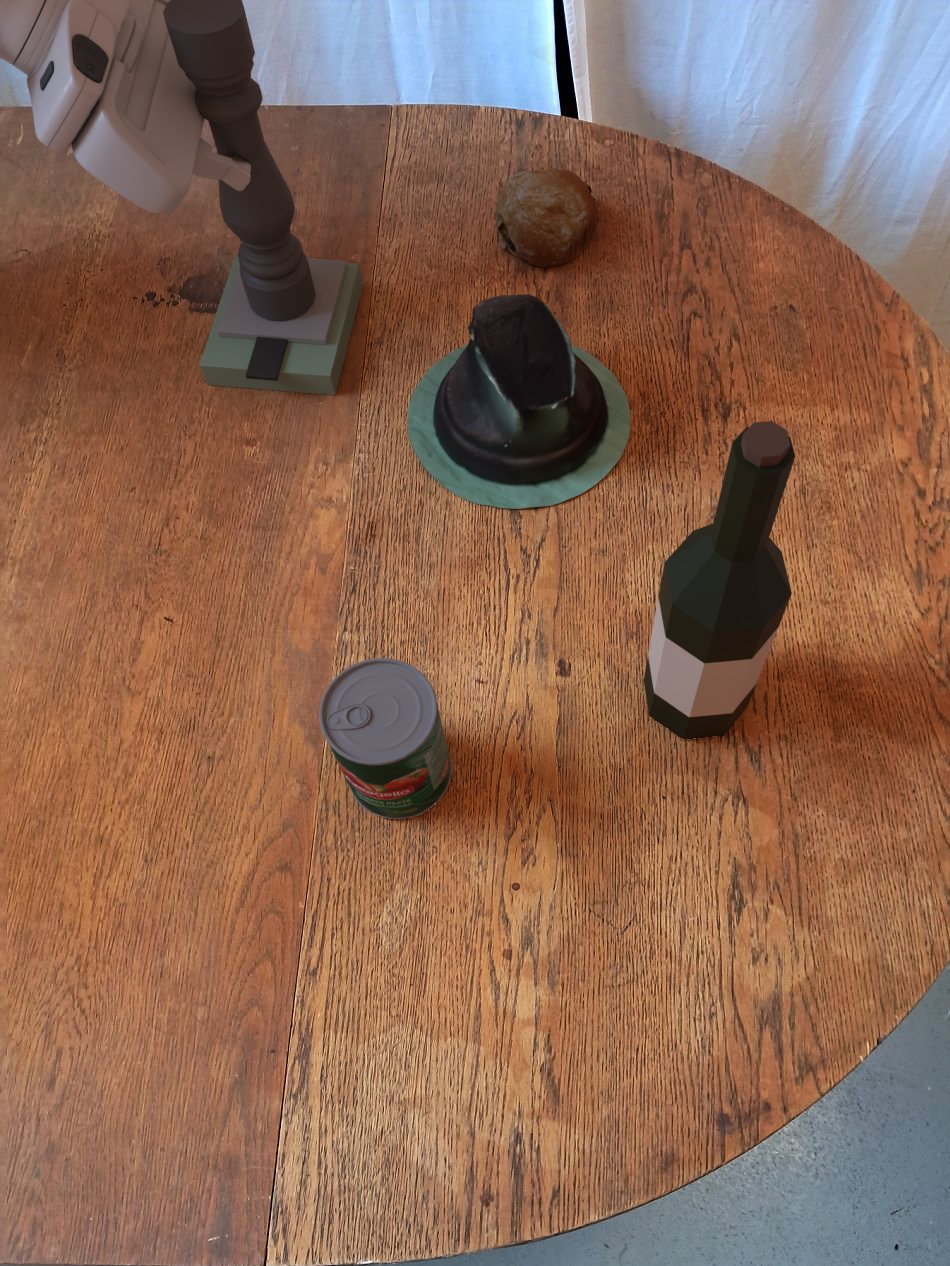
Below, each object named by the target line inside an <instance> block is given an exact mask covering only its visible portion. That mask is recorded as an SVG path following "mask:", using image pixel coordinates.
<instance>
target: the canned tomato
mask: <svg viewBox="0 0 950 1266" xmlns="http://www.w3.org/2000/svg"><path fill="white" fill-rule="evenodd" d="M438 705H439V704H438V699H437V694H436V692H435V690H434V687H433V685H432V683H431V682H430V681H429V679H428V678H427V676H426V675H425V674H424V673H423V672H422V671H420V670H419V669H418V668H416V667H415V666H414V665H412V664H409V663H408V662H405V661H402V660H400V659H394V658H388V657H379V658H378V657H376V658H375V657H374V658H369V659H364V660H362V661H359V662H357V663H353V664H352V665H350V666H348V667H347V668H345V669H343V670H342V671H341V672H340V673H338V674H337V675H336V676H334V678H333V679H332V681H331V682H330V683H329V684H328V686H326V689H325V691H324V693H323V694H322V697H321V701H320V704H319V710H318V711H319V712H318V718H319V726H320V730H321V732H322V735H323V737H324V738H325V740H326V742H327V743H328V746H329V749H330V751H331V752H332V754H333V757H334V758H335V761H336V763H337V765H338V766H339V769H340V770H341V772H342V775H343V776H344V778H345V782H346V783H347V785H348V787H349V789H350V791H351V794H352V796H353V797H354V799H355V800H356V802H357V803H358V804H359V806H361V808H363V809H364V810H365V811H366V812H368V811H369V812H368V813H370V814H371V813H372V814H371V815H373V814H375V815H377V816H376V817H378V815H379V816H380V817H379V818H381V817H384V818H388V819H387V820H390V819H389V818H391V819H405V818H410V819H412V818H411V817H414V818H416V817H415V816H417V815H419V814H422V813H424V812H425V811H426V810H428V809H430V808H431V807H433V806H434V804H435V803H437V802H438V801H439V800H440V799H441V800H442V798H443V797H444V796H445V794H446V793H447V790H448V788H449V786H450V782H451V780H452V775H453V774H452V770H453V769H452V768H453V767H452V766H453V763H452V758H451V755H450V753H449V748H448V743H447V740H446V739H447V738H446V736H445V735H446V734H445V731H444V727H443V723H442V718H441V714H440V710H439V706H438ZM445 792H446V793H445ZM444 793H445V794H444ZM443 795H444V796H443ZM442 796H443V797H442ZM441 797H442V798H441ZM441 800H440V801H441ZM440 801H439V802H440ZM439 802H438V803H439ZM438 803H437V804H438ZM434 807H435V806H434ZM434 807H433V808H434ZM430 810H431V809H430ZM428 811H429V810H428ZM425 813H426V812H425ZM425 813H424V814H425ZM375 815H374V816H375ZM422 815H423V814H422ZM419 816H420V815H419ZM417 817H418V816H417ZM384 818H383V819H384ZM405 820H406V819H405Z"/></svg>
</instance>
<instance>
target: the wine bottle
mask: <svg viewBox="0 0 950 1266" xmlns="http://www.w3.org/2000/svg"><path fill="white" fill-rule="evenodd" d="M795 459H796V453H795V448H794V446H793V442H792V437H791V436H789V433H788V430H787V429H786V428H785V427H783V426H781V425H779V424H777V423H776V422H774V421H773V420H766V421H755V422H752V423H751V424H750V426H746V427H744V429H743V430H742V431H741V432H740V434H738V436H737V437H735V439H734V440H732V443H731V446H730V451H729V455H728V459H727V464H726V467H725V472H724V476H723V479H722V484H721V487H720V493H719V497H718V500H717V505H716V510H715V513H714V518H713V522H712V523H711V524H707V525H705V526H702V527H699V528H696V529H694V530H692V531H691V532H690V533H689V535H687V537H686V538H685V539H684V540H683V541H682V543H680V545H679V546H678V547H677V548H676V549H675V550H674V551H673V552H672V553H671V554H670V556H669V557H668V558H667V559H666V560H665V561H664V563H663V567H662V568H663V569H662V574H661V580H660V584H659V585H660V586H659V590H658V591H659V592H658V597H657V603H656V606H655V607H656V608H655V613H654V619H653V625H652V631H651V637H650V642H649V646H648V647H649V648H648V654H647V657H646V658H647V659H646V665H645V669H644V676H643V686H645V687H644V691H645V698H647V699H646V705H647V704H648V705H647V710H649V711H648V717H649V716H650V717H652V718H653V719H654V720H653V719H652V718H651V719H652V720H653V721H655V722H656V721H657V722H659V723H660V724H662V725H663V726H664V727H663V726H662V725H661V726H662V727H663V728H665V727H666V728H668V729H669V730H670V731H671V732H670V731H669V730H668V731H669V732H670V733H672V732H673V733H674V734H676V735H677V736H678V737H677V736H676V735H675V736H676V737H677V738H679V737H680V738H682V739H691V740H694V739H693V738H702V739H706V738H705V737H712V738H714V737H713V736H722V737H724V736H725V735H727V733H728V732H729V730H730V729H731V728H732V727H733V726H734V724H735V723H736V722H737V721H738V719H739V718H740V717H741V716H742V715H743V713H744V712H745V711H746V710H747V708H748V706H749V704H750V701H751V699H752V696H753V693H754V690H755V688H756V686H757V683H758V681H759V678H760V676H761V673H762V671H763V667H764V665H765V663H766V661H767V658H768V655H769V652H770V650H771V648H772V645H773V643H774V640H775V638H776V635H777V632H778V629H779V628H780V625H781V622H782V620H783V617H784V616H785V615H784V614H785V613H786V609H787V607H788V604H789V602H790V599H791V597H792V594H793V592H792V588H791V584H790V580H789V576H788V572H787V567H786V564H785V559H784V555H783V551H782V550H781V549H780V548H779V546H778V545H777V544H776V543H775V542H774V540H773V539H771V537H770V535H771V533H772V530H773V527H774V524H775V521H776V518H777V514H778V511H779V508H780V506H781V502H782V498H783V495H784V493H785V489H786V487H787V483H788V481H789V478H790V475H791V471H792V469H793V465H794V463H795ZM744 710H745V711H744ZM743 711H744V712H743ZM742 712H743V713H742ZM740 715H741V716H740ZM739 716H740V717H739ZM650 717H649V718H650ZM738 717H739V718H738ZM735 721H736V722H735ZM657 722H656V723H657ZM659 723H658V724H659ZM660 724H659V725H660ZM731 726H732V727H731ZM666 728H665V729H666ZM727 731H728V732H727ZM726 732H727V733H726ZM673 733H672V734H673ZM674 734H673V735H674ZM680 738H679V739H680ZM682 739H681V740H682Z"/></svg>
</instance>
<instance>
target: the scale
mask: <svg viewBox="0 0 950 1266" xmlns="http://www.w3.org/2000/svg"><path fill="white" fill-rule="evenodd" d="M307 260H308V263H309V267H310V271H311V276H312V280H313V284H314V288H315V292H316V296H315V300H314V303H313V305H312V306H311V307H310V308H309V309H308V310H307V311H306V312H305V313H303V314H301V315H300V316H298V317H296V318H293V319H288V320H284V321H276V320H268V319H265V318H263V317H260V316H258V315H257V314H256V313H255V312H254V311H253V310H252V309H251V308H250V305H249V302H248V298H247V295H246V292H245V289H244V285H243V282H242V279H241V275H240V271H239V268H240V263H239V259H238V254H235V255H234V257H233V261H232V264H231V267H230V269H229V273H228V276H227V280H226V282H225V285H224V288H223V291H222V295H221V298H220V301H219V304H218V306H217V310H216V313H215V316H214V319H213V322H212V326H211V328H210V332H209V335H208V337H207V340H206V344H205V347H204V350H203V352H202V356H201V360H200V362H199V368H200V371H201V373H202V375H203V378H204V380H205V382H206V385H207V386H213V387H216V386H217V387H228V388H238V389H239V388H240V389H251V390H265V391H276V392H277V391H278V392H288V393H289V392H290V393H302V394H314V395H325V396H326V395H327V396H336V395H337V391H338V387H339V382H340V379H341V375H342V371H343V366H344V363H345V359H346V354H347V351H348V346H349V343H350V339H351V335H352V332H353V327H354V323H355V319H356V315H357V311H358V307H359V303H360V298H361V295H362V291H363V286H364V282H363V276H362V273H361V268H360V267H361V266H360V263H357V262H354V263H353V262H347V260H341V259H328V258H327V259H326V258H317V257H315V258H314V257H307Z"/></svg>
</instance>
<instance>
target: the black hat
mask: <svg viewBox="0 0 950 1266" xmlns="http://www.w3.org/2000/svg"><path fill="white" fill-rule="evenodd" d="M471 315H472V316H471V317H470V319H471V321H470V324H469V325H468V326H467V330H468V332H469V334H470V339H469V341H468V343H467V344H464V345H462V346H461V347H457V348H456V349H454V350H452V351H450V352H449V353H447V354H446V355H445V356H443V357H441V358H440V359H439V360H438V359H437V361H435V362H434V363H433V364H432V365H431V366H430V367H429V369H428V370H427V372H426V373H425V374H424V375H423V376H422V378H421V379H420V380H419V382H418V384H417V385H416V387H415V389H414V391H413V393H412V395H411V398H410V400H409V403H408V408H407V432H408V438H409V441H410V443H411V447H412V449H413V451H414V453H415V455H416V456H417V458H418V460H419V462H420V463H421V464H422V466H423V467H424V469H425V470H426V471H427V472H428V473H429V474H430V475H431V476H432V478H434V479H435V480H436V481H437V482H439V484H441V485H442V486H443V487H444V488H445V489H446V490H448V491H450V492H451V493H453V494H454V495H456V496H458V497H459V498H462V499H464V500H466V501H468V502H470V503H474V504H478V505H483V506H490V507H494V508H499V509H510V510H511V509H512V510H521V509H528V508H539V507H550V506H554V505H557V504H561V503H564V502H566V501H568V500H571V499H573V498H575V497H577V496H580V495H581V494H584V493H585V492H586V491H588V490H590V489H591V488H593V487H594V486H596V485H598V483H599V482H601V480H602V479H604V478H605V477H606V476H607V475H608V474H609V473H610V471H612V470H613V468H614V467H615V466H616V464H618V462H619V461H620V459H621V458H622V456H623V454H624V452H625V449H626V447H627V444H628V441H629V437H630V432H631V422H632V421H631V410H630V409H631V408H630V405H629V401H628V397H627V394H626V393H625V391H624V388H623V387H622V385H621V383H620V382H619V381H618V378H617V377H616V376H615V374H614V373H613V372H612V371H611V370H610V369H609V368H608V367H607V366H606V365H604V363H602V362H601V361H600V360H599V359H597V357H594V356H593V355H592V354H591V353H589V352H588V351H585V350H584V349H582V348H580V347H578V346H577V345H574V344H572V343H571V338H570V336H569V334H568V333H567V332H566V329H564V326H563V325H562V323H561V322H560V321H559V319H558V318H556V317H555V316H554V313H553V311H552V310H551V307H549V305H547V303H546V302H544V301H543V300H542V299H540V297H537V296H535V295H532V294H530V293H525V294H523V293H522V294H503V295H502V294H501V295H497V296H491V297H489V298H486V299H482V300H481V301H480V302H479V303H477V304H475V306H474V307H472V311H471Z"/></svg>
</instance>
